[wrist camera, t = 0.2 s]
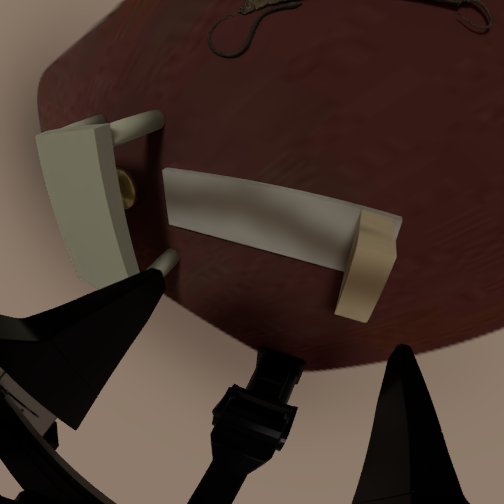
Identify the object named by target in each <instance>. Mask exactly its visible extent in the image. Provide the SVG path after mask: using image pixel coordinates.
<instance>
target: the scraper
mask: <svg viewBox="0 0 504 504" xmlns="http://www.w3.org/2000/svg"><path fill="white" fill-rule="evenodd" d="M162 172H163V181H164V190H165V197H166V205H167V212H168V219H169V224H170V225H174V226H177V227H181V228H185V229H189V230H192V231H196V232H200V233H204V234H207V235H211V236H215V237H218V238H222V239H226V240H230V241H233V242H237V243H241V244H244V245H248V246H252V247H255V248H259V249H263V250H266V251H270V252H274V253H277V254H281V255H285V256H288V257H292V258H296V259H299V260H303V261H307V262H310V263H314V264H318V265H321V266H325V267H328V268H332V269H336V270H339V271H343V272H344V275H343V280H342V285H341V289H340V293H339V298H338V302H337V306H336V310H335V314H336V315H340V316H343V317H347V318H350V319H354V320H358V321H361V322H365V323H367V321H368V319H369V317H370V315H371V313H372V311H373V309H374V307H375V305H376V303H377V301H378V299H379V296H380V294H381V292H382V290H383V288H384V285H385V283H386V281H387V279H388V276H389V274H390V272H391V269H392V267H393V264H394V262H395V260H396V257H397V256H396V242H395V241H396V238H397V235H398V232H399V229H400V226H401V223H402V217H400V216H397V215H394V214H390V213H387V212H383V211H380V210H376V209H373V208H369V207H365V206H361V205H358V204H354V203H350V202H346V201H342V200H338V199H334V198H330V197H326V196H322V195H317V194H313V193H309V192H304V191H300V190H295V189H290V188H286V187H281V186H276V185H271V184H266V183H261V182H256V181H250V180H245V179H239V178H233V177H227V176H221V175H215V174H209V173H202V172H195V171H188V170H181V169H173V168H165V169H163V170H162Z"/></svg>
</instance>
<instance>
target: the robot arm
mask: <svg viewBox="0 0 504 504" xmlns="http://www.w3.org/2000/svg"><path fill="white" fill-rule="evenodd" d="M164 291H165V282H164V277H163V273H162V271H161V270H159V269H156V268H150V269H147V270H145V271H142V272H140V273H138V274H135V275H133V276H130V277H128V278H125V279H123V280H121V281H118V282H116V283H113V284H111V285H109V286H106V287H104V288H101V289H99V290H97V291H94V292H92V293H89V294H87V295H85V296H82V297H80V298H78V299H77V300H73V301H71V302H68V303H66V304H63V305H61V306H58V307H56V308H53V309H50V310H48V311H44V312H42V313H39V314H36V315H33V316H30V317H27V318H13V317H9V316H4V315H0V459H1V460H2V462H3V463H4V465H5V466H6V467H7V469H8V470H9V471H10V473H11V474H12V475H13V477H14V478H15V479H16V481H17V482H18V483H19V484H20V486H21V487H22V488H23V489H24V491H22V492H20V493H19V494H18V496H17V497H16V499H15V500H12V499H9V498H6V497H2V496H1V495H0V504H116V503H115V502H113V501H112V500H111V499H109V498H108V497H107V496H105V495H104V494H103V493H102V492H100V491H99V490H98V489H96V488H95V487H94V486H93V485H92V484H90V483H89V482H88V481H87V480H86V479H84V478H83V477H82V476H81V475H80V474H79V473H78V472H76V471H75V470H74V469H73V468H72V467H71V466H70V465H69V464H68V463H67V462H66V461H65V460H64V459H63V458H62V457H60V455H59V454H58V453H57V452H56V451H55V450H56V449H57V447H58V446H59V443H58V433H57V423H56V422H55V420H56V419H57V418H59V419H60V420H61V421H63V422H64V423H66V424H67V425H68V426H70V427H71V428H73V429H74V430H77V429H78V427H79V425H80V424H81V422H82V421H83V419H84V417H85V416H86V414H87V412H88V411H89V409H90V408H91V406H92V404H93V403H94V401H95V399H96V398H97V396H98V395H99V393H100V391H101V390H102V388H103V387H104V385H105V384H106V382H107V381H108V379H109V377H110V376H111V374H112V373H113V371H114V370H115V368H116V367H117V365H118V364H119V362H120V361H121V359H122V358H123V356H124V355H125V353H126V352H127V350H128V349H129V347H130V346H131V344H132V343H133V341H134V340H135V339H136V337H137V336H138V334H139V333H140V331H141V330H142V328H143V327H144V325H145V324H146V323H147V321H148V319H149V318H150V316H151V314H152V312H153V311H154V309H155V307H156V305H157V303H158V302H159V300H160V298H161V296H162V295H163V293H164ZM305 364H306V362H305V361H304V360H301V359H297V358H294V357H291V356H288V355H285V354H282V353H279V352H276V351H273V350H270V349H267V348H264V347H259V349H258V353H257V364H256V369H255V371H254V373H253V375H252V377H251V379H250V381H249V383H248V385H247V387H246V389H244V388H242V387H239V386H238V385H236V384H234V385H233V386H232V387H229V388H228V390H227V392H226V394H225V395H224V397H223V398H222V399H221V401H220V402H219V403H218V404H217V405H216V407H215V408H214V409H213V411H212V413H213V415H214V416H213V421H212V425H214V428H213V430H212V432H211V446H212V456H213V460H212V462H211V464H210V466H209V468H208V470H207V471H206V473H205V475H204V476H203V478H202V480H201V482H200V483H199V485H198V486H197V488H196V490H195V491H194V493H193V495H192V496H191V498H190V500H189V502H188V503H187V504H232V502H233V501H234V499H235V497H236V495H237V493H238V491H239V490H240V487H241V486H242V484H243V482H244V480H245V478H246V476H247V475H248V474H249V473H251V472H253V471H254V470H256V469H257V468H259V467H260V466H262V465H263V464H265V463H266V462H267V461H269V460H270V459H271V458H272V456H273V454H274V452H275V450H278V451H280V450H281V449H282V447H283V445H284V444H285V441H286V439H287V437H288V435H289V432H290V429H291V427H292V423H293V421H294V418H295V415H296V411H297V408H298V407H295V406H294V407H293V406H290V405H287V402H288V400H289V398H290V395H291V392H292V390H293V387H294V385H295V384H298V382H299V379H300V377H301V375H302V372H303V370H304V367H305ZM441 431H442V430H441V427H440V424H439V421H438V418H437V414H436V411H435V409H434V406H433V403H432V400H431V397H430V395H429V392H428V389H427V387H426V384H425V381H424V378H423V376H422V373H421V371H420V368H419V366H418V364H417V361H416V359H415V356H414V354H413V352H412V349H411V347H410V346H408V345H404V344H398V345H397V347H396V348H395V350H394V351H393V353H392V354H391V355H390V357H389V359H388V362H387V366H386V370H385V374H384V378H383V382H382V386H381V390H380V394H379V397H378V401H377V406H376V412H375V417H374V423H373V428H372V432H371V437H370V441H369V446H368V450H367V454H366V458H365V462H364V465H363V469H362V472H361V476H360V479H359V483H358V486H357V489H356V492H355V495H354V498H353V501H352V504H470V503H469V502H468V501H467V500H466V498H465V497H464V495H463V492H462V490H461V487H460V484H459V481H458V478H457V475H456V472H455V470H454V467H453V464H452V461H451V458H450V456H449V453H448V449H447V446H446V443H445V440H444V436H443V433H442V432H441Z"/></svg>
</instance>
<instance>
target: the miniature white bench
mask: <svg viewBox="0 0 504 504" xmlns="http://www.w3.org/2000/svg"><path fill="white" fill-rule="evenodd" d="M164 123H165V118H164V115H163V113H162V112H161V111H160V110H152V111H148V112H144V113H141V114H137V115H134V116H131V117H127V118H124V119H121V120H118V121H115V122H112V123H106V119H105V117H104V116H103V115H102V114H100V115H96V116H93V117H90V118H87V119H84V120H82V121H79V122H76V123H73V124H71V125H68V126H65V127H63V128H60V129H55V130H49V131H45V132H43V133H41V134H39V135H36V136H35V137H36V142H37V148H38V153H39V158H40V162H41V167H42V171H43V175H44V180H45V183H46V187H47V190H48V194H49V198H50V201H51V205H52V208H53V211H54V214H55V217H56V220H57V223H58V226H59V229H60V232H61V235H62V237H63V240H64V243H65V245H66V248H67V250H68V253H69V256H70V258H71V261H72V263H73V265H74V268H75V270H76V272H77V275H78V277H79V278H80V279H82V280H83V281H85V282H87V283H88V284H90V285H92V286H94V287H95V288H97V289H101V288H104V287H106V286H109V285H111V284H113V283H116V282H118V281H121V280H123V279H125V278H128V277H130V276H133V275H135V274H138V273H140V271H139V268H138V264H137V261H136V257H135V253H134V250H133V246H132V242H131V238H130V234H129V230H128V225H127V221H126V217H125V212H124V207H123V203H122V198H121V193H120V188H119V182H118V177H117V171H116V165H115V158H114V151H113V147H116V146H118V145H120V144H123V143H125V142H128V141H130V140H133V139H135V138H138V137H140V136H143V135H146V134H148V133H151V132H154V131H157V130H159V129H161V128H162V127H163V126H164ZM179 261H180V256H179V254H178V253H177V252H176V251H175V250H174V249H172V248H168V249H167V250H166V251H165V252H164V253H163V254H162V255H160V256H159V257H158V258H157V259H156V260H155V261H154V262H153V263H152V264H151V265H150V266H149V267H148V268H147V269H150V268H156V269H159V270H161V271H162V273H163V277H165V276H166V274H167V273H168V272H169V271H170V270H171V269H172V268H173V267H174V266H175V265H176V264H177V263H178V262H179ZM147 269H146V270H147Z"/></svg>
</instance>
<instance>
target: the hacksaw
mask: <svg viewBox="0 0 504 504" xmlns="http://www.w3.org/2000/svg"><path fill="white" fill-rule="evenodd" d="M290 1H296V0H245V2H244V6H243V7H240V9H241V10H238V11H237V12H236V13H233V14H232V15H231V16H232V17H233V16H234V15H235V14H237V13H238V12H239V13H242V14H243V15H246V14H248V13H252V12H253V11H255V10H257V11H258V10H261V9H263V8H265V7H267V6H273V5H276V4H281V3H285V2H290ZM433 1H438V2H444V3H448V4H453V5H457V6H459V5H460V4H461V3H462V2H466V1H467V2H469V3H470V1H472V2H474V3H476V4H478V5H480V6H481V7H482V8H483V9H484V10H485V11H486V13H487V14H488V16H489V20H490V23H489V25H488V26H486V27H482V26H477V25H474V24H472V23H471V22H469V21H468V20H467V19H465V18H464V17H463V16H461V15H460V14H459V13H458V14H459V15H460V16H461V17H462V18H464V19H465V20H466V21H467V22H469V23H470V24H471V25H473V26H475V27H478V28H481V29H488V28H490V27H491V26H492V24H493V17H492V15H491V13H490V11H489V9H488V8H487V7H486V5H484V4H483V3H482V2H481V1H479V0H433ZM301 4H302V3H299V2H290V3H288V4H284V5H281V6H277V7H274V8H271V9H269V10H266V11H265V12H263V13H261V14H260V15H259V16H258V17H257V18H256V21H255V22H254V25H253V26H252V28H251V31H250V32H249V35H248V37H247V40H246V42H245V44H244V45H243V47H242V48H241V49H239V50H238V51H237V52H234V53H232V54H227V53H222V52H220V51H218V50H216V48H215V47H214V46H213V44H212V42H211V33H212V32H213V29H214V28H215V27H216V25H217V24H219V23H220V22H221V20H224V19H226V18H227V17H228V16H225V17H223V18H222V19H219V20H218V21H217V22H216V23H215V24H214V25H213V27H212V28H211V29H210V31H209V33H208V38H207V42H208V44H209V47H210V49H211V50H212V51H213V52H214V53H216V54H217V55H219V56H221V57H225V58H233V57H235V56H239V55H240V54H242V53H244V51H245V50H246V49H247V48H248V46H249V45H250V42H251V40H252V39H253V35H254V33H255V31H256V28H257V26H258V25H259V22H260V21H261V20H262V18H263V17H264V16H266V15H267V14H269V13H272V12H274V11H279V10H281V9H287V8H296V7H298V6H299V5H301ZM229 16H230V15H229Z"/></svg>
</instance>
